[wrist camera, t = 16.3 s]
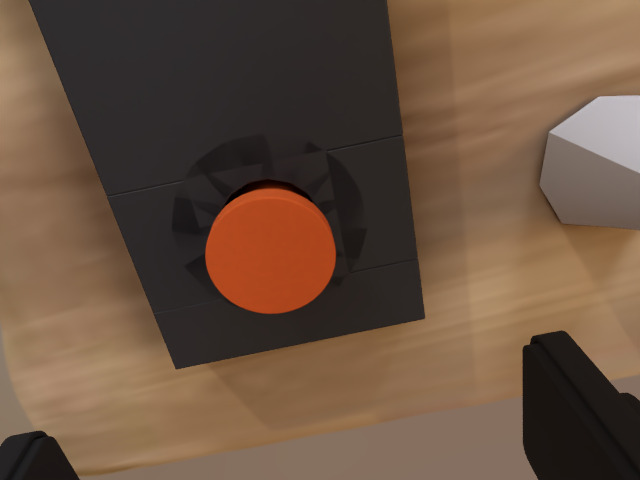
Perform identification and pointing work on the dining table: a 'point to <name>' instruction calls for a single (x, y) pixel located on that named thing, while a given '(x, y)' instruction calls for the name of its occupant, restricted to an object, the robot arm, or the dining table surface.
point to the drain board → (244, 151)
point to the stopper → (270, 249)
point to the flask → (596, 165)
